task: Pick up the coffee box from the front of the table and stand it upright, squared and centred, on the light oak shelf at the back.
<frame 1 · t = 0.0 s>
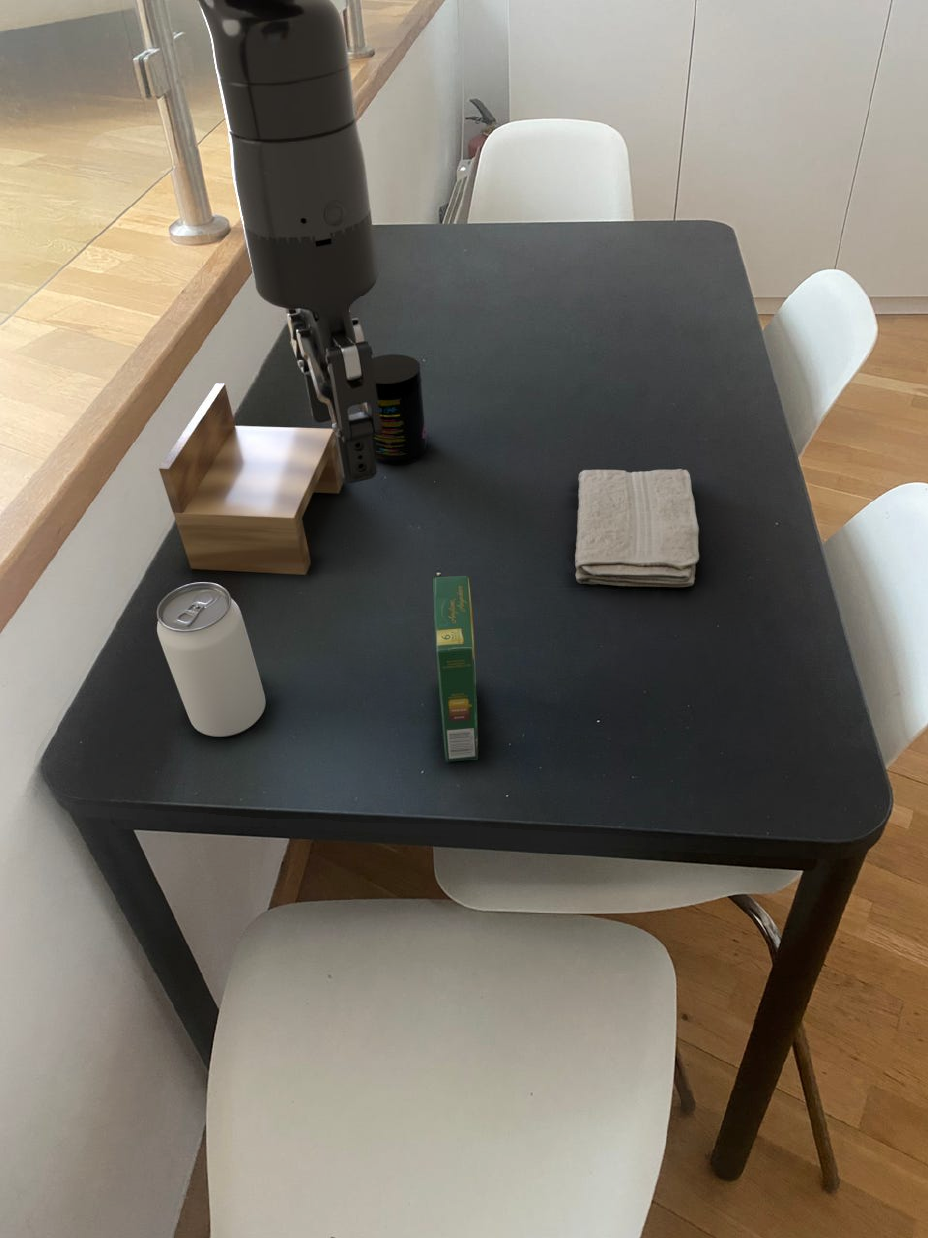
hand: (343, 447, 65), 23 cm above the table, tool pointing down, fingers open, 8 cm apart
supplement container: (398, 452, 107), on the table
shelf: (271, 524, 98), on the table
coffee box: (461, 728, 76), on the table
can: (229, 712, 78), on the table
washcloth: (633, 535, 93), on the table
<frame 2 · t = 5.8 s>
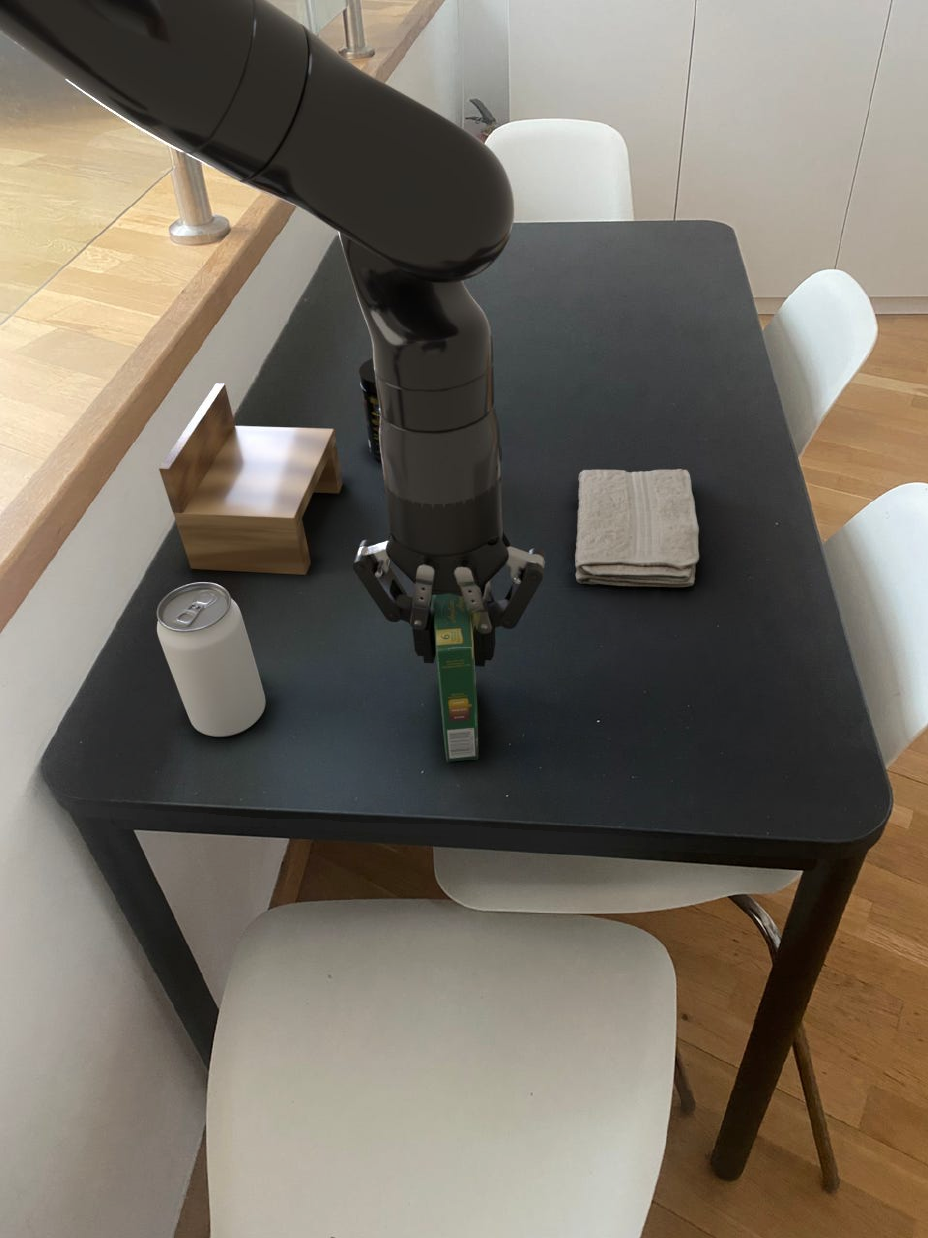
hand: (456, 656, 70), 8 cm above the table, tool pointing down, fingers closed on coffee box, 3 cm apart
coffee box: (461, 727, 76), on the table, touching gripper
everything else where it was.
when the fingers open (15 cm above the table, at t = 12.9 s): coffee box stays where it is, resting on shelf.
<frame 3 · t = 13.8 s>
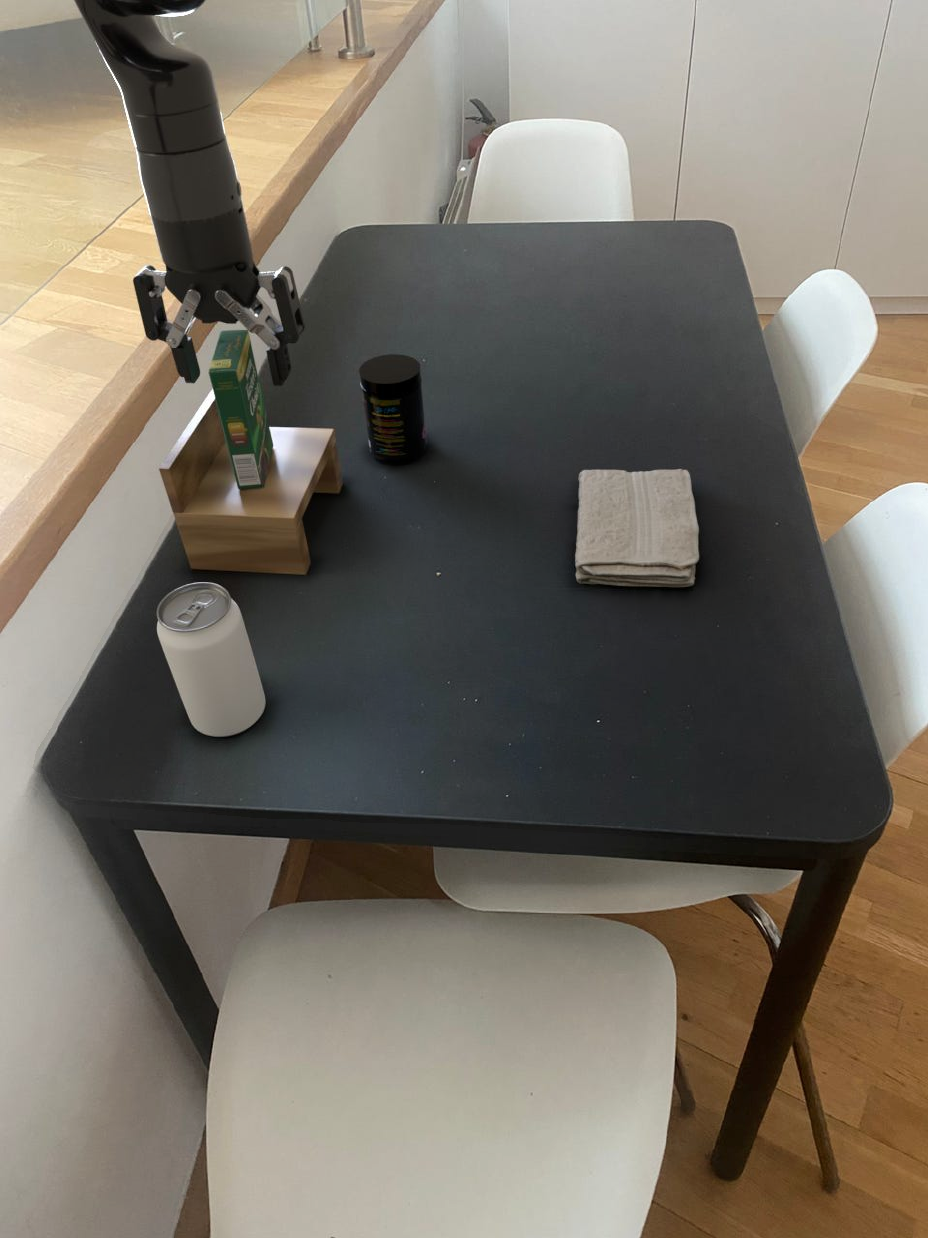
hand: (237, 380, 86), 17 cm above the table, tool pointing down, fingers open, 8 cm apart
coffee box: (257, 470, 93), point 7 cm above the table, touching shelf
everything else where it was.
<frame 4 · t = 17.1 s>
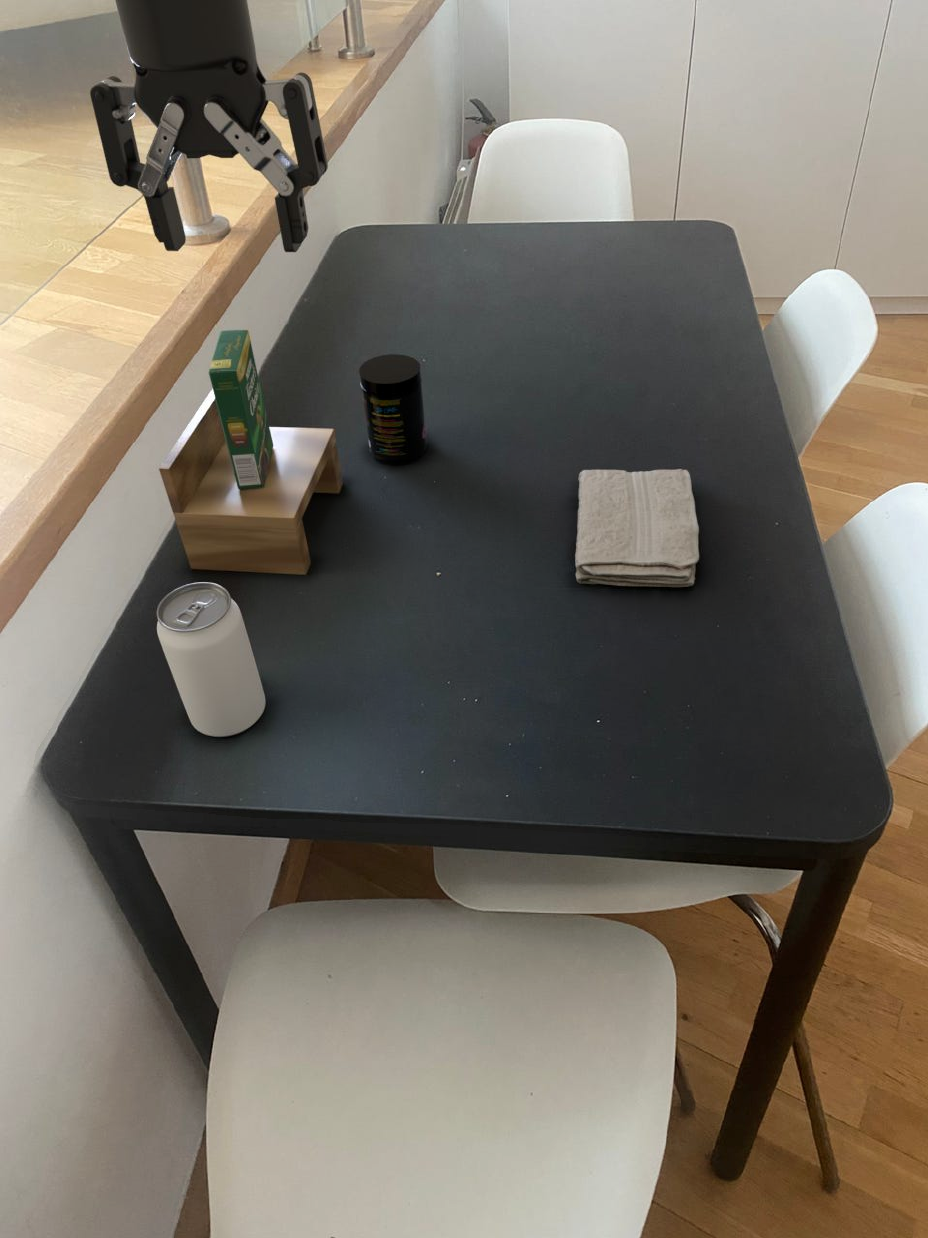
hand: (235, 247, 64), 34 cm above the table, tool pointing down, fingers open, 8 cm apart
nothing on the table moved.
at the end: coffee box inside the target area on the shelf (0.1 cm from its centre), point 6.8 cm above the shelf's base; coffee box tilted 0°; the gripper is holding nothing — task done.
